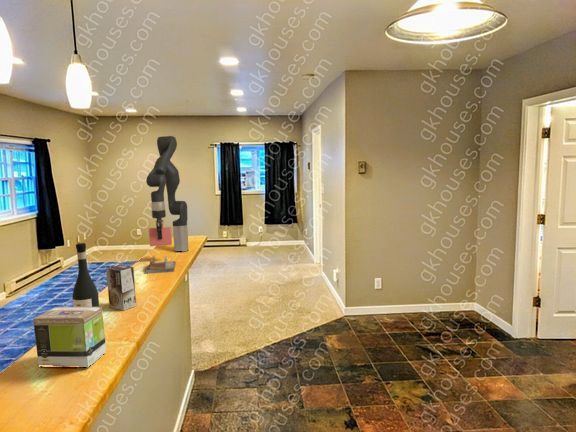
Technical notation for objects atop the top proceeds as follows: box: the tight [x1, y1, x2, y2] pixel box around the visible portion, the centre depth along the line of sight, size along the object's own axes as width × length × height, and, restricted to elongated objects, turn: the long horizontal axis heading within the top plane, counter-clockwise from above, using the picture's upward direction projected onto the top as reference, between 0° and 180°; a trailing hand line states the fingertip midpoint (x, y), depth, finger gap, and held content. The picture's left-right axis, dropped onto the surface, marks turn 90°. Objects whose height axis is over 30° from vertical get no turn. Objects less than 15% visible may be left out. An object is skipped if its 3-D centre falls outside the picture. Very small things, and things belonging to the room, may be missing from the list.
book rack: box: [145, 256, 177, 275], centre depth 222 cm, size 18×14×6 cm
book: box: [148, 226, 173, 247], centre depth 235 cm, size 4×12×10 cm, turn 103°
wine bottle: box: [72, 242, 100, 307], centre depth 139 cm, size 8×8×30 cm
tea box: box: [32, 306, 107, 367], centre depth 116 cm, size 15×10×15 cm, turn 84°
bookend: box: [163, 255, 173, 268], centre depth 223 cm, size 10×4×4 cm, turn 13°
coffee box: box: [105, 264, 137, 311], centre depth 161 cm, size 9×6×16 cm
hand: (160, 238), depth 235 cm, fingers closed on book, 4 cm apart
